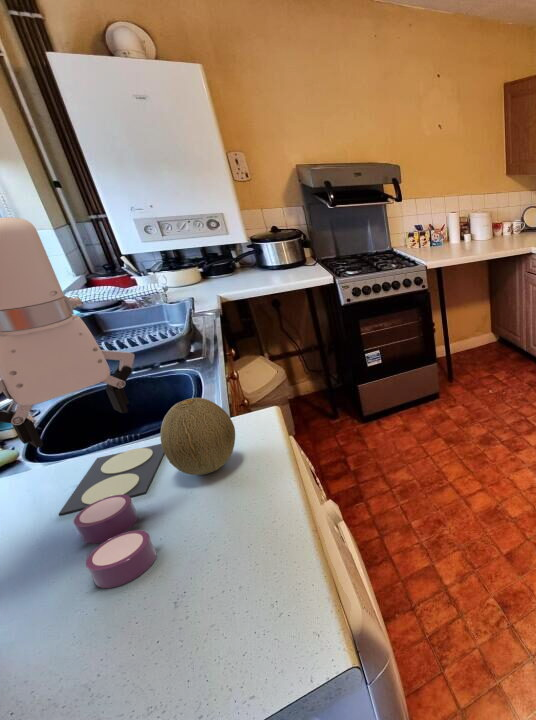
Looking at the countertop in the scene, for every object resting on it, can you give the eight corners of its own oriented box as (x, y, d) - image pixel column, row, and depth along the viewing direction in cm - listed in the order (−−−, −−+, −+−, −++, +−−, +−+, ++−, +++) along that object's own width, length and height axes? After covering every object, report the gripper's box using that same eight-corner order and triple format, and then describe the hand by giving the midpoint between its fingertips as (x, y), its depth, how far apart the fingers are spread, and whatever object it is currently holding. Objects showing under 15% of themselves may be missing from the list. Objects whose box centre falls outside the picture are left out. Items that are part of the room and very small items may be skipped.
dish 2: (86, 596, 60) (76, 577, 58) (105, 557, 65) (96, 539, 64) (149, 576, 62) (140, 558, 61) (162, 541, 68) (154, 523, 67)
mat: (59, 515, 74) (57, 513, 74) (97, 459, 88) (96, 457, 88) (146, 493, 78) (145, 491, 78) (169, 443, 93) (168, 441, 93)
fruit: (255, 450, 90) (236, 386, 84) (218, 488, 79) (194, 417, 74) (201, 450, 90) (179, 386, 85) (158, 487, 80) (130, 417, 74)
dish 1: (74, 550, 67) (64, 532, 66) (92, 519, 73) (84, 502, 72) (130, 534, 70) (122, 516, 68) (143, 505, 76) (136, 489, 74)
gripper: (99, 295, 66) (138, 394, 72) (-81, 332, 52) (-14, 452, 58) (123, 301, 63) (161, 404, 69) (-64, 343, 48) (6, 468, 55)
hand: (81, 426), depth 63 cm, fingers open, 9 cm apart
